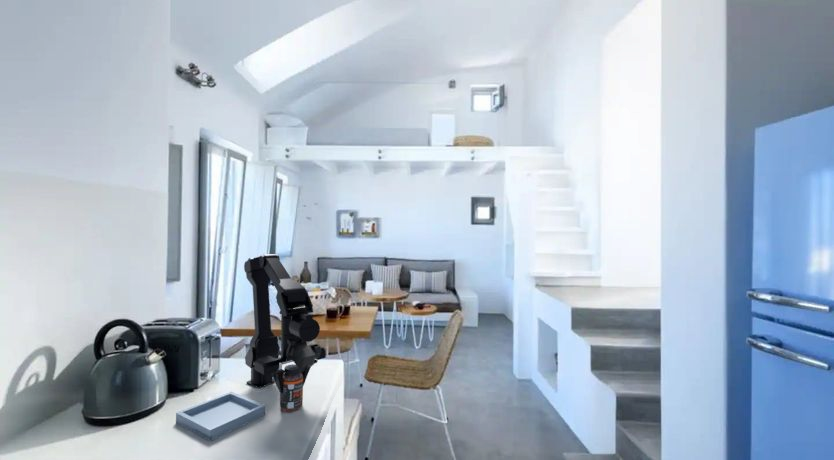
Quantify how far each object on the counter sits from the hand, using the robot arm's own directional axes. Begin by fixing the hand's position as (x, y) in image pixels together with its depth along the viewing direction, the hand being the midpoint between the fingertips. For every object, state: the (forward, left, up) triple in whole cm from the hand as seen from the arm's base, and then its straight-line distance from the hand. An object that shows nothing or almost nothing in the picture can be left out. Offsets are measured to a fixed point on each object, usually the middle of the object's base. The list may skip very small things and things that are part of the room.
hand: (291, 389), depth 108 cm
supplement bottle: (0, 0, -5) cm, 5 cm away
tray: (-10, -14, -5) cm, 18 cm away
